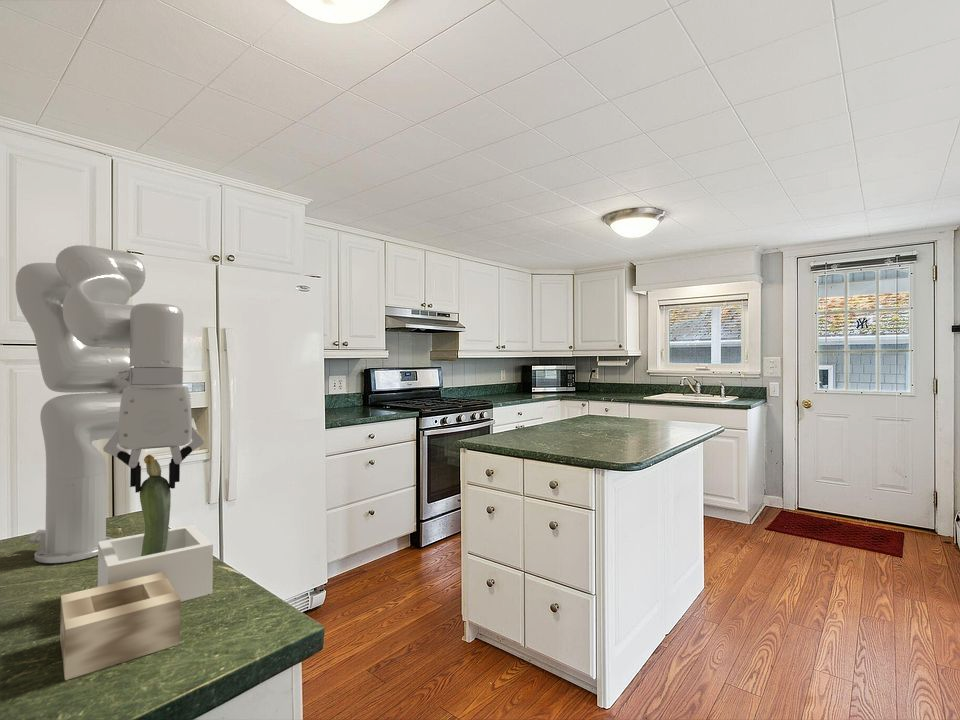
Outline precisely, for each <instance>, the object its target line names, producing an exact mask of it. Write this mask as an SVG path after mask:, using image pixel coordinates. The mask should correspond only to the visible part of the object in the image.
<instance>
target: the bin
mask: <svg viewBox="0 0 960 720" xmlns="http://www.w3.org/2000/svg"><path fill="white" fill-rule="evenodd" d="M143 538H144V533H140V534H133V535H127V536H123V537H118V538H113V539H111V540H105V541H100V542H98V555H97V587H100V586H105V585H109V584H113V583H118V582H122V581H126V580H131V579H135V578H140V577H144V576H148V575H153V574H157V573H161V572H163V573H164V574H165V576H166V577H167V579H168V581H169V582H170V584H171V585H172V587H173V588H174V590H175V591H176V593H177V594H178V596H179V598H180V599H181V603H182V602H185V601H191V600H193V599H197V598H201V597H204V596H208V594H209V595H212V594H213V590H214V589H213V585H214V584H213V583H214V581H213V577H214V576H213V574H214V573H213V571H214V566H213V564H214V544H213V542H211V541H210V540H209V539H208V538H207V537H206V536H205V535H204V534H203V533H202V532H201V531H200V530H199V529H197V527H196V526H195V525H193V524H189V525H183V526H177V527H173V528H172V527H171V528H168V539H167V546H166V550H165V552H161V553H156V554H151V555H146V556H141V554H142V545H143Z"/></svg>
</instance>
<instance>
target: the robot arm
mask: <svg viewBox="0 0 960 720" xmlns="http://www.w3.org/2000/svg"><path fill="white" fill-rule="evenodd" d="M145 281H146V269H145V266H144V264H143V262H142V261H141V259H140V258H139V257H137V255H135V254H133V253H131V252H126V251H120V250H115V249H108V248H104V247H97V246H91V245H83V244H82V245H81V244H79V245H78V244H77V245H70V246H68V247H67V246H66V248H63V249H62V250H61V251H59V253H58V254H57V256H56V258H55V262H35V263H28V264H26V265H23V266H22V267H21V268H19V270H18V272H17V275H16V277H15V294H16V299H17V300H16V301H17V303H18V306H19V309H20V310H21V313H22V315H23V316H24V318H25V320H26V321H27V323H28V325H29V326H30V329H31V331H32V332H33V335H34V339H35V346H36V351H37V355H38V362H39V365H40V370H41V371H40V372H41V375H42V379H43V380H42V381H43V382H44V384H45V386H46V387H47V388H48V389H49V390H51V391H53V392H56V393H66V394H62V395H58V396H55V397H52V398H51V399H48V400H47V401H46V402H45V403H44V405H42V407H41V410H40V426H41V431H42V435H43V441H44V450H45V529H37V531H35V533H34V535H31V536H30V537H29V539H28V540H29V543H34V544H35V543H37V544H40V545H39V547H40V548H39V549H37V550H36V551H35V552H34V560H35V561H36V562H38V563H41V564H62V563H71V562H76V561H81V560H86V559H89V558H93V557H98V542H100V541H105V540H111V539H114V537H111V536H107V478H108V477H107V467H108V466H107V460H106V458H105V456H104V455H103V453H102V452H101V451H100V450H99V449H98V448H97V447H96V446H95V445H94V444H93V443H92V442H94V441H99V440H107V439H109V440H108V441H107V443H106V444H105V445H104V446H103V448H102V449H103V452H104V453H106V454H109V455H111V456H112V457H115V458H117V459H118V460H120V461H121V462H123V463H124V464H125V465H126V466H128V467H129V469H130V474H129V475H130V477H129V479H130V481H129V482H130V484H129V487H130V488H134V489H135V493H136V494H138V493H140V491H141V485H142V465H141V464H140V456H141V451H142V450H149V449H164V448H170V454H171V459H170V462H169V464H168V483H169V486H170V490H172V489H176V483H180V481H181V480H180V477H181V476H180V475H181V474H180V473H181V472H180V471H181V470H180V469H181V463H183V461H184V460H185V459H186V458H187V457H188V456H190V454H191V453H192V452H193V451H195V450H197V449H198V448H199V447H202V446H203V445H204V444H205V443H204V442H205V441H204V440H203V439H202V437H201V436H200V435H199V433H198V432H197V431H196V429H195V428H194V427H193V422H192V416H193V415H192V405H191V396H190V390H189V386H184V385H183V380H184V379H183V378H184V312H183V311H182V309H181V308H180V307H179V306H176V305H174V304H173V305H172V304H167V303H156V302H155V303H152V302H151V303H150V302H145V303H138V304H135V305H134V304H128V302H129V300H130V298H132V297H134V296H135V295H136V294H138V292H140V290H141V289H143V286H144V284H145ZM124 349H129V352H128V351H126V350H124ZM68 393H69V394H68ZM70 393H71V394H70ZM118 445H119V447H118ZM183 446H184V447H183ZM180 447H182V448H180ZM121 448H122V449H121ZM125 450H129V451H130V453H128V451H125Z"/></svg>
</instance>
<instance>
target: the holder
mask: <svg viewBox="0 0 960 720" xmlns="http://www.w3.org/2000/svg"><path fill="white" fill-rule="evenodd" d="M181 603H182V602H181V599H180V598H179V596H178V594H177V593H176V591H175V590H174V588H173V587H172V585H171V584H170V582H169V581H168V579H167V577H166V576H165V574H164V573H163V572H161V573H157V574H153V575H148V576H144V577H140V578H135V579H131V580H126V581H122V582H118V583H113V584H109V585H105V586H100V587H98V586H96V587H92V588H88V589H84V590H80V591H79V590H78V591H75V592H70V593H65V594H62V595H60V634H59V637H60V639H59V640H60V648H61V657H62V667H63V676H64V681H68V680H71V679H72V680H73V679H75V678H78V677H80V676H84V675H88V674H90V673H91V674H92V673H94V672H96V671H100V670H102V669H106V668H109V667H110V668H111V667H112V666H115V665H119V664H122V663H125V662H128V661H131V660H134V659H138V658H141V657H144V656H148V655H150V654H154V653H157V652H160V651H163V650H166V649H169V648H172V647H176V646H179V645H181V610H182V609H181V607H182V606H181Z"/></svg>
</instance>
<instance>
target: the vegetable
mask: <svg viewBox="0 0 960 720" xmlns="http://www.w3.org/2000/svg"><path fill="white" fill-rule="evenodd" d="M143 463H144V464H145V466H146V469H145V470H146V473H147V475H148V476H149V477H147V478H146V479H145V480H143V482H141V491H139V501H140V506H141V511H142V515H143V520H144V525H145V526H144V532H143V534H144V538H143V545H142V554H141V556H146V555H151V554H156V553H161V552H165V550H166V546H167V539H168V529H170V528H169V526H170V517H171V505H172V504H171V503H172V502H171V497H172V492H171V488H170V486H169V480H167V479H166V478H164V477H163V476H162V467H161V464H160V462H158V459H155V457H154V456H153V455H152V454H147V455H145V457H144V459H143Z"/></svg>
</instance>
